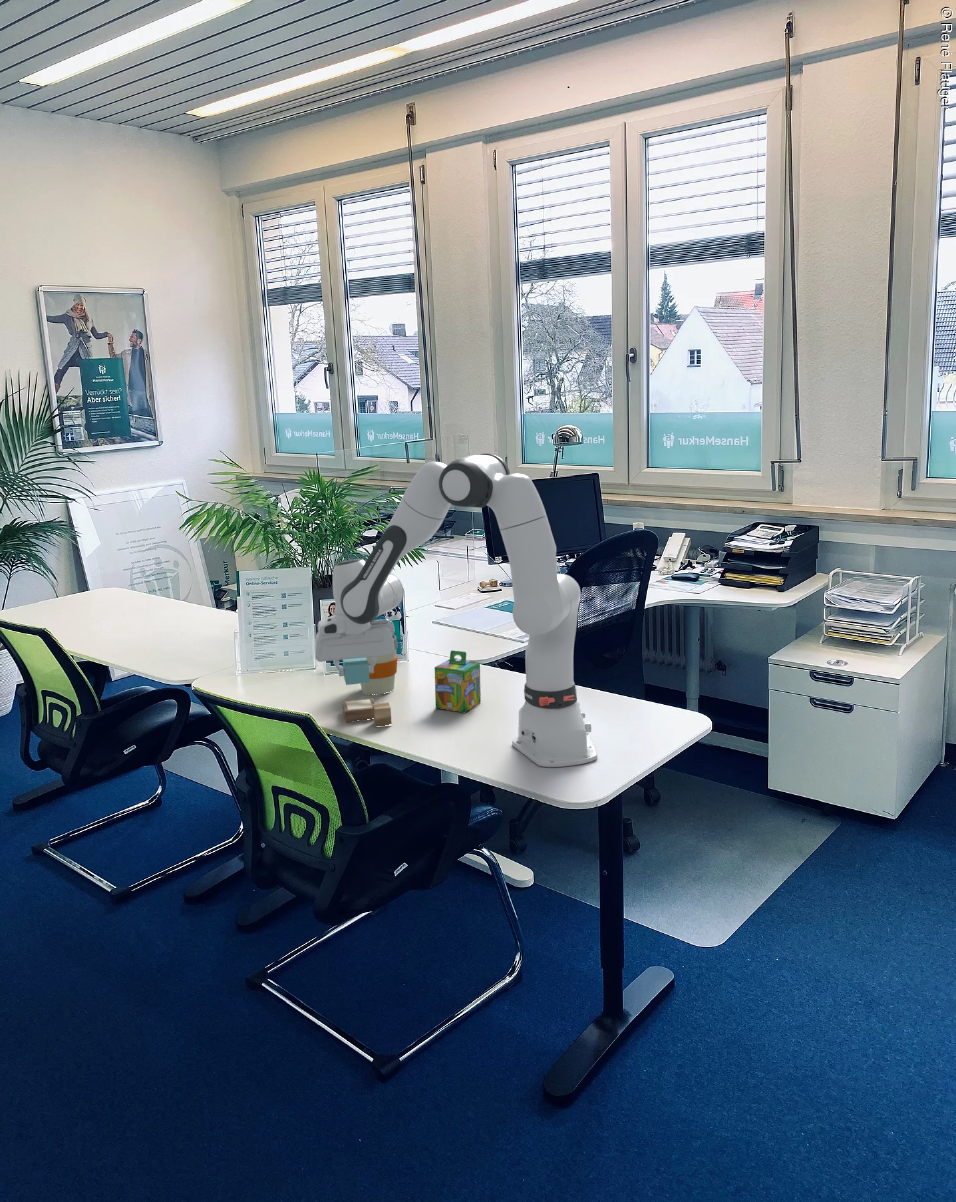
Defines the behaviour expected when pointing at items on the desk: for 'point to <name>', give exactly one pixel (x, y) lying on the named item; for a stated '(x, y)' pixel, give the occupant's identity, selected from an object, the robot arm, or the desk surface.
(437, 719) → the desk surface
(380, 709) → the oak block
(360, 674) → the teal block
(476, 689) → the chalk box
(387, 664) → the reusable coffee cup
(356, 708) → the walnut slab
